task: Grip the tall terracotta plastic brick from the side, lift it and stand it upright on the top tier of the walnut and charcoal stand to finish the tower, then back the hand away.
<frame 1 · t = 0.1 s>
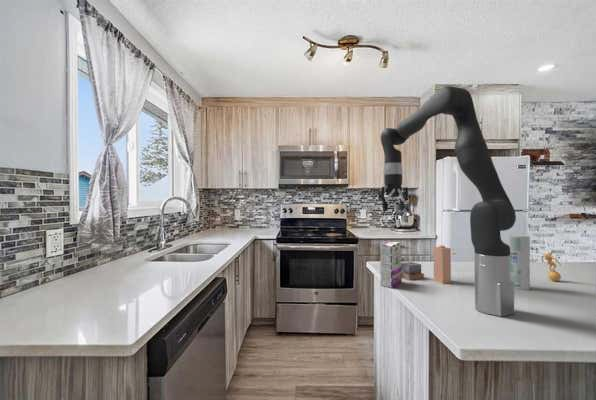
hand: (393, 210, 135), 29 cm above the countertop, tool pointing down, fingers open, 8 cm apart
terracotta brick: (442, 281, 127), on the countertop
tower stand: (410, 277, 134), on the countertop
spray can: (519, 288, 117), on the countertop
candy bar box: (391, 284, 123), on the countertop
figurine: (552, 281, 126), on the countertop
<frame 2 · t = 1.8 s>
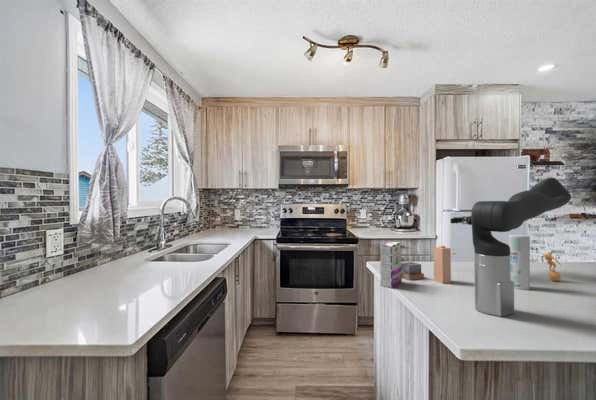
hand: (459, 221, 131), 24 cm above the countertop, tool horizontal, fingers open, 8 cm apart
nothing on the countertop moved.
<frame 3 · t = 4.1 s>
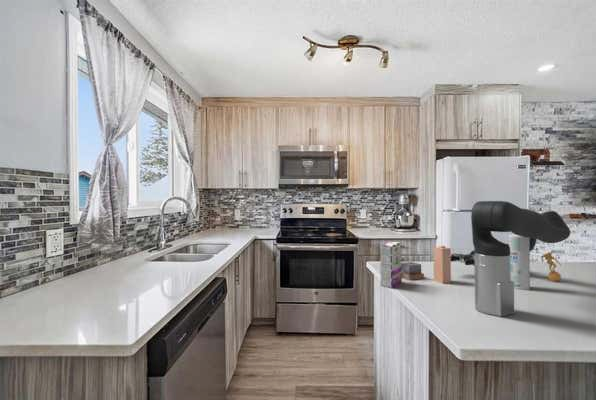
hand: (456, 260, 130), 8 cm above the countertop, tool horizontal, fingers open, 8 cm apart
nothing on the countertop moved.
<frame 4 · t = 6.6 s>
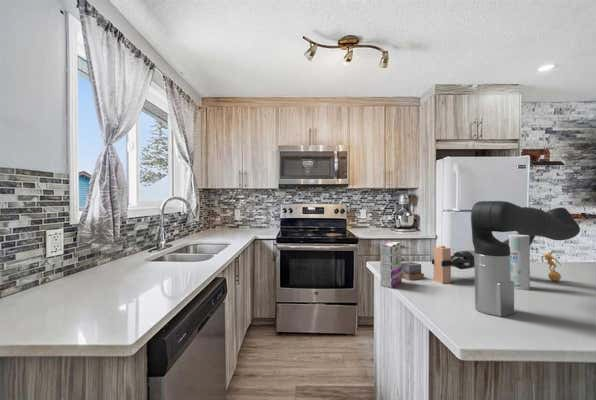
hand: (437, 262, 126), 8 cm above the countertop, tool horizontal, fingers closed on terracotta brick, 4 cm apart
terracotta brick: (442, 281, 127), on the countertop, touching gripper
everything else where it was.
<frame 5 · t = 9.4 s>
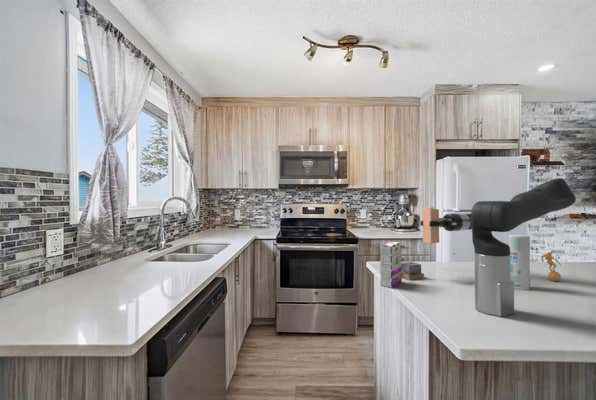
hand: (425, 223, 129), 24 cm above the countertop, tool horizontal, fingers closed on terracotta brick, 4 cm apart
terracotta brick: (431, 242, 130), point 16 cm above the countertop, touching gripper
everything else where it was.
when the fingers open (15 cm above the countertop, at t = 12.4 s): terracotta brick drops 1 cm, resting on tower stand.
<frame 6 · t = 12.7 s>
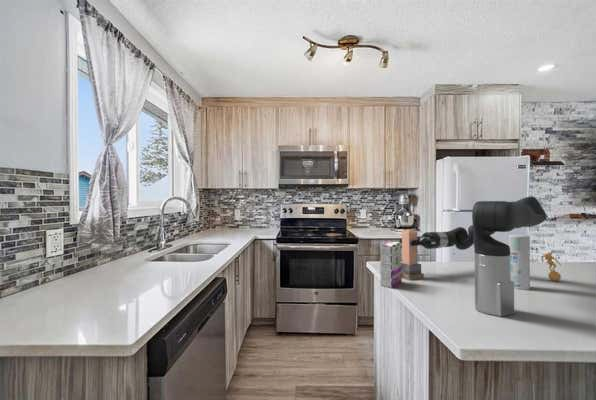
hand: (405, 242, 134), 16 cm above the countertop, tool horizontal, fingers open, 6 cm apart
terracotta brick: (409, 263, 134), point 6 cm above the countertop, touching tower stand
everything else where it was.
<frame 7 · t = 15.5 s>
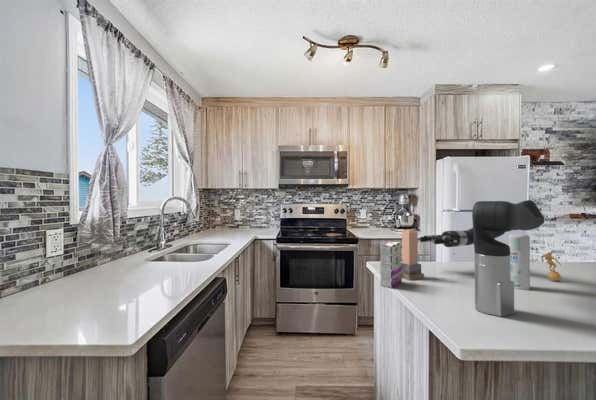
hand: (427, 240, 138), 16 cm above the countertop, tool horizontal, fingers open, 8 cm apart
nothing on the countertop moved.
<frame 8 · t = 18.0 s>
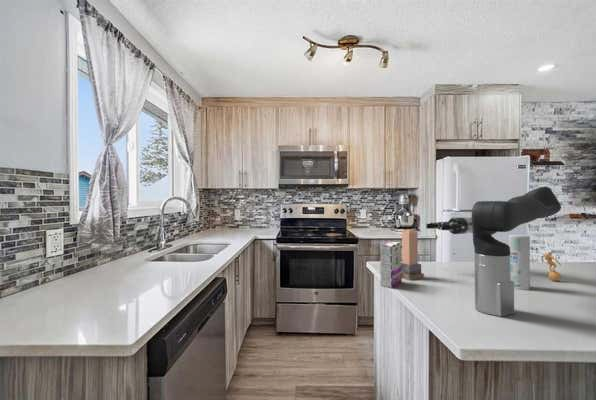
hand: (434, 226, 134), 22 cm above the countertop, tool horizontal, fingers open, 8 cm apart
nothing on the countertop moved.
at the end: terracotta brick 0.0 cm off-centre on the tower stand, point 6.0 cm above the tower stand's base; terracotta brick tilted 0°; the gripper is holding nothing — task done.
